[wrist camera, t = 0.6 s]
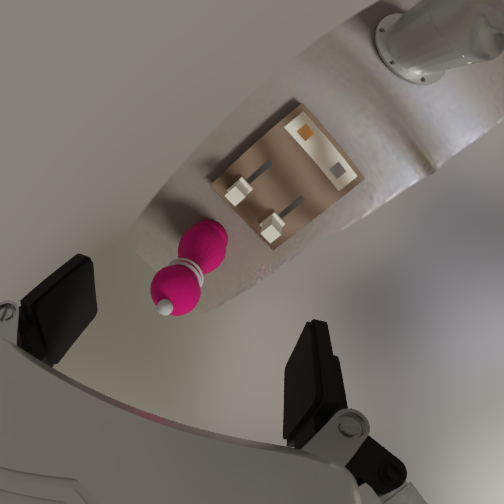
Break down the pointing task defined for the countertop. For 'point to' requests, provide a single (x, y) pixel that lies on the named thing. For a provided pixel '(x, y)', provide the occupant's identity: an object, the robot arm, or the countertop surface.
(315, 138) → the switch board
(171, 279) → the pepper mill
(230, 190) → the tab
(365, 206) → the countertop surface
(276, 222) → the tab
